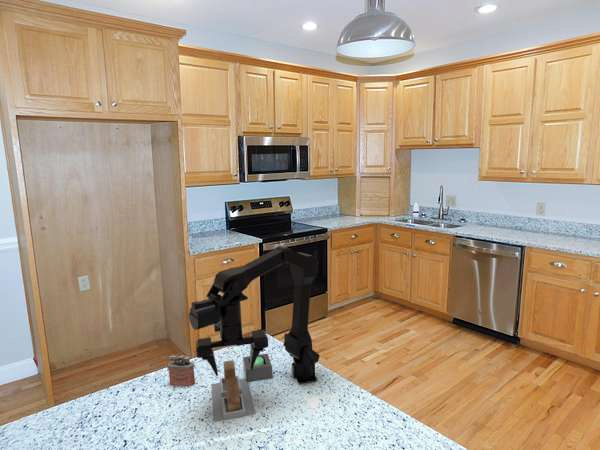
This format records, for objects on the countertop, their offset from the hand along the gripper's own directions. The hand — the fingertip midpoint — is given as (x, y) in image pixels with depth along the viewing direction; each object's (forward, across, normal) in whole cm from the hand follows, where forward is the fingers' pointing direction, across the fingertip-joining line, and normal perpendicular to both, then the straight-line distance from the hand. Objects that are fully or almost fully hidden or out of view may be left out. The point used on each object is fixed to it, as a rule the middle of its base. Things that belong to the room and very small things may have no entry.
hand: (234, 372), depth 107 cm
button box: (+11, -8, -15) cm, 20 cm away
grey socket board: (+11, +1, -4) cm, 12 cm away
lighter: (+11, +15, -16) cm, 24 cm away
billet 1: (+10, +1, -9) cm, 13 cm away
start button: (+9, -8, -15) cm, 19 cm away
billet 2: (+10, +1, +1) cm, 10 cm away
